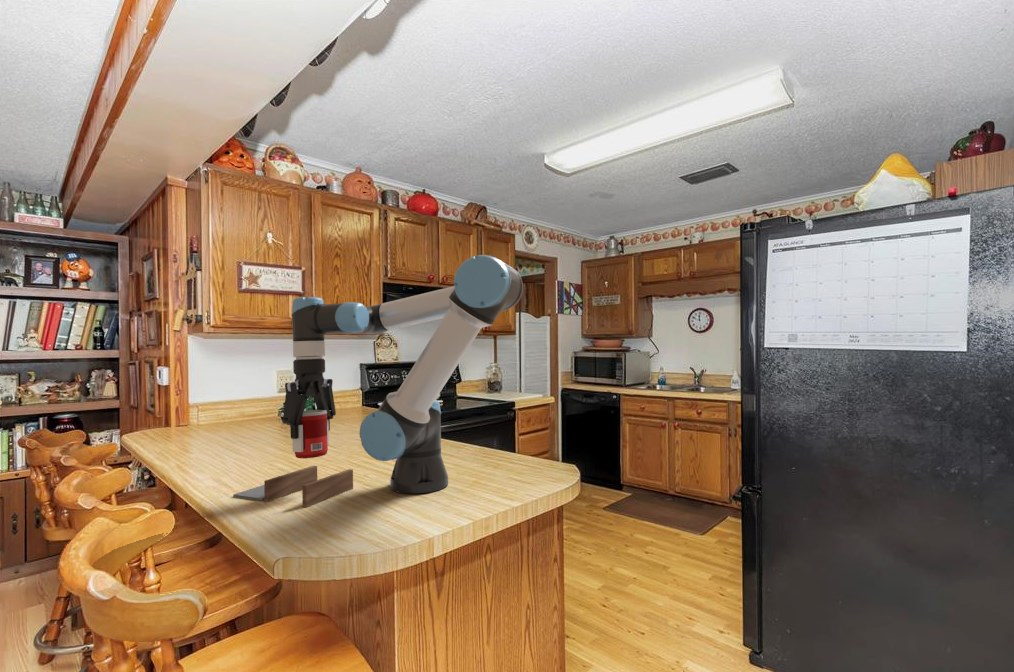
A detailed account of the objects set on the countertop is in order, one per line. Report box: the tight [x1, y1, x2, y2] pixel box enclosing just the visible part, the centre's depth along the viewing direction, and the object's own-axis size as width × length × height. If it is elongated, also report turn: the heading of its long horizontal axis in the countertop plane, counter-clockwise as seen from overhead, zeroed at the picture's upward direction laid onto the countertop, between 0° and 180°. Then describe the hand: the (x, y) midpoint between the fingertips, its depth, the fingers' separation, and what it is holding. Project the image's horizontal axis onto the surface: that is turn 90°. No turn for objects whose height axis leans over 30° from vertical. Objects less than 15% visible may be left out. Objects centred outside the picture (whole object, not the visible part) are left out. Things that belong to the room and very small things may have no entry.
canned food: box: [294, 409, 329, 459], centre depth 124 cm, size 8×8×11 cm
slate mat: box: [232, 484, 265, 502], centre depth 126 cm, size 10×10×1 cm
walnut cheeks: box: [263, 465, 354, 508], centre depth 124 cm, size 13×16×5 cm
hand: (311, 447), depth 124 cm, fingers closed on canned food, 8 cm apart
